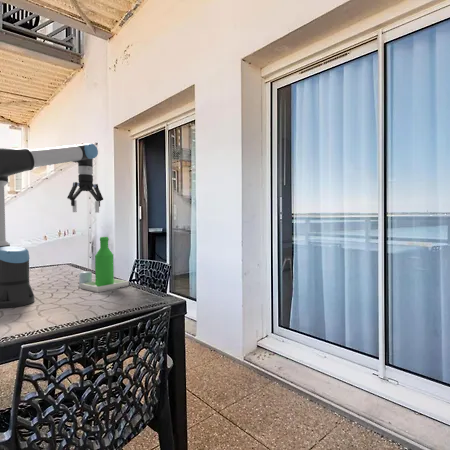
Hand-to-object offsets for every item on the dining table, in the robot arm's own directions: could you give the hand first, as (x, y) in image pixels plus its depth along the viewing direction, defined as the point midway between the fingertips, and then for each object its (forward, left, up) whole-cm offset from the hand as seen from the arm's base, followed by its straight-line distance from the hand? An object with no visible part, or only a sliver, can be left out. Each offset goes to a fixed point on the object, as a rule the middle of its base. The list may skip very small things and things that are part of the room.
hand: (86, 212), depth 182 cm
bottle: (-4, -23, -38) cm, 45 cm away
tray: (-4, -23, -39) cm, 45 cm away
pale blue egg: (-8, -11, -39) cm, 41 cm away
